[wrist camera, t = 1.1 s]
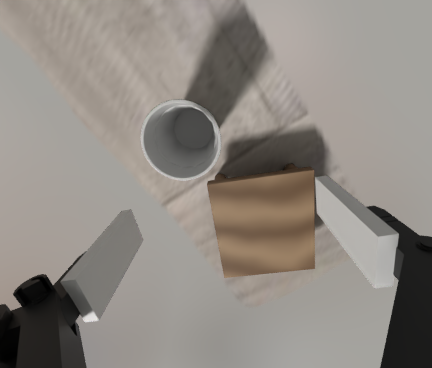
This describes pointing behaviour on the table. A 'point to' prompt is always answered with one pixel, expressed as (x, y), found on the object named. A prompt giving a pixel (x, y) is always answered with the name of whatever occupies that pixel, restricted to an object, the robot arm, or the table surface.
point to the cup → (181, 139)
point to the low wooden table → (265, 221)
